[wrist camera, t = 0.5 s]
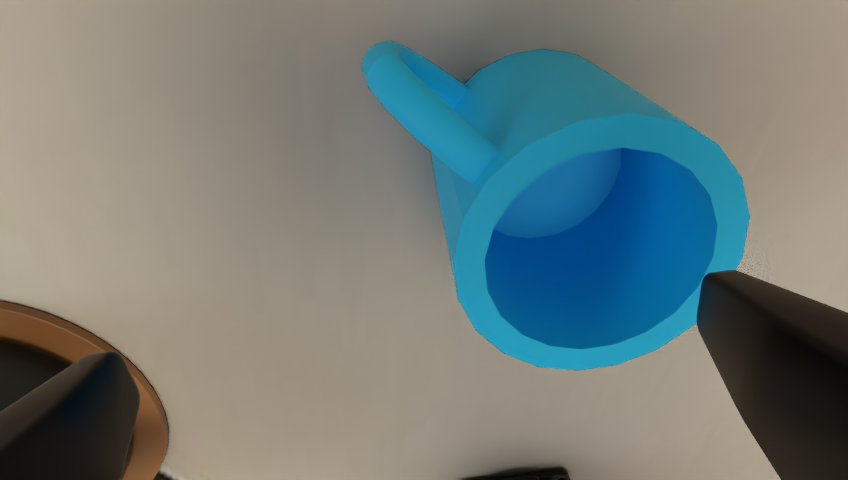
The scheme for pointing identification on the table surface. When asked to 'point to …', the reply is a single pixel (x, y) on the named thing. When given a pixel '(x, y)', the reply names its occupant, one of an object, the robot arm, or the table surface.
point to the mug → (567, 203)
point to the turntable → (72, 346)
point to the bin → (29, 376)
